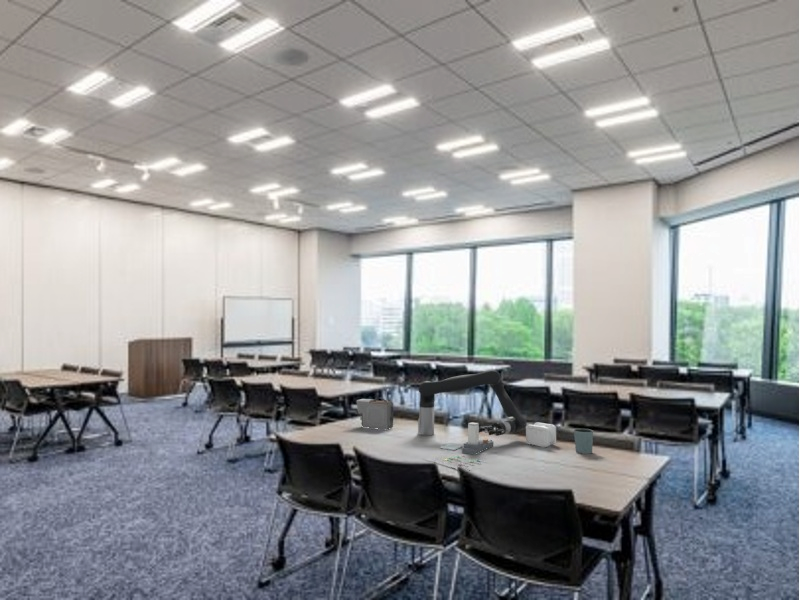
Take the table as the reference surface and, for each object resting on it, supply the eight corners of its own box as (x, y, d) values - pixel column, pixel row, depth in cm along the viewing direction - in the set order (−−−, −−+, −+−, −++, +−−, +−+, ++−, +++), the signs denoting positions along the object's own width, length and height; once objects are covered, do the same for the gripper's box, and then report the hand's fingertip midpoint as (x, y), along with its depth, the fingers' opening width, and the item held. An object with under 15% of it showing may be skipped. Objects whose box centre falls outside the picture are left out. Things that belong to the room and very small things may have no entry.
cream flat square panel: (423, 460, 282) (423, 457, 282) (464, 452, 300) (464, 449, 300) (464, 473, 258) (464, 469, 258) (506, 464, 276) (506, 461, 276)
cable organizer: (557, 445, 313) (557, 425, 314) (547, 448, 306) (547, 427, 306) (535, 441, 324) (535, 421, 325) (525, 444, 317) (525, 424, 317)
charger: (468, 446, 299) (468, 423, 299) (471, 445, 302) (471, 422, 303) (475, 448, 296) (475, 424, 297) (478, 446, 300) (478, 423, 300)
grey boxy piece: (363, 424, 373) (363, 380, 374) (394, 427, 364) (395, 382, 365) (354, 427, 362) (355, 382, 363) (387, 430, 353) (387, 384, 354)
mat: (440, 448, 306) (440, 447, 306) (447, 445, 313) (447, 444, 313) (454, 450, 301) (454, 449, 301) (461, 447, 308) (461, 446, 308)
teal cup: (593, 455, 291) (592, 432, 292) (573, 453, 295) (573, 431, 295) (593, 450, 301) (593, 429, 301) (574, 449, 304) (574, 427, 305)
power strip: (462, 452, 296) (462, 444, 297) (485, 442, 322) (485, 434, 322) (475, 454, 292) (475, 446, 292) (497, 443, 317) (497, 436, 317)
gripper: (491, 419, 321) (473, 423, 311) (511, 423, 311) (493, 427, 300) (491, 432, 321) (473, 436, 310) (511, 436, 311) (493, 440, 300)
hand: (483, 431), depth 305 cm, fingers open, 8 cm apart
